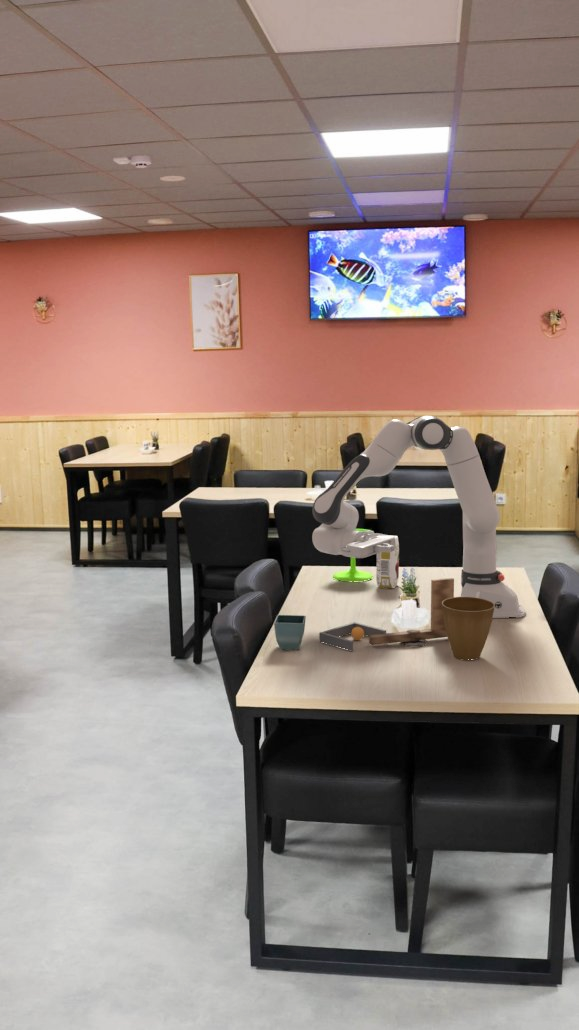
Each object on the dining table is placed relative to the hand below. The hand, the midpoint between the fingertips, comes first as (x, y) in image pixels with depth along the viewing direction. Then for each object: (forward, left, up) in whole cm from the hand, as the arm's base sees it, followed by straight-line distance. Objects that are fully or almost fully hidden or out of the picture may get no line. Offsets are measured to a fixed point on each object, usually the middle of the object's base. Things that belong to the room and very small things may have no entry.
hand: (392, 549), depth 294 cm
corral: (+11, +16, -26) cm, 32 cm away
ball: (+11, +14, -25) cm, 31 cm away
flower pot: (+29, +24, -26) cm, 46 cm away
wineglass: (+17, -66, -26) cm, 73 cm away
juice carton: (+3, -53, -26) cm, 59 cm away
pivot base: (-7, +15, -26) cm, 31 cm away
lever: (-7, +15, -25) cm, 30 cm away
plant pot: (-23, +27, -26) cm, 44 cm away
